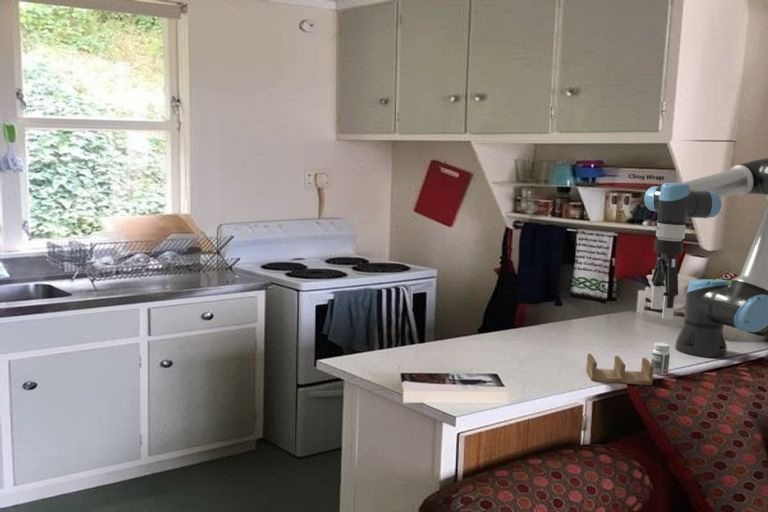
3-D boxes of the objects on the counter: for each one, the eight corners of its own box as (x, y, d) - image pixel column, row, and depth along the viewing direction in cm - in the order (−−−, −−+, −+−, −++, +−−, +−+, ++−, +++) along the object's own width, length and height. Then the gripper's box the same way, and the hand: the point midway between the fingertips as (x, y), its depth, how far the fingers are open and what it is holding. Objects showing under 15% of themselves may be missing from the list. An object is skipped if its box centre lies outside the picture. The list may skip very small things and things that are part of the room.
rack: (644, 375, 226) (646, 358, 225) (652, 385, 217) (654, 367, 216) (586, 371, 227) (587, 353, 226) (591, 380, 218) (593, 362, 217)
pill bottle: (664, 370, 232) (667, 342, 230) (670, 375, 227) (673, 346, 226) (647, 370, 232) (650, 341, 230) (653, 375, 227) (656, 346, 226)
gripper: (645, 232, 237) (638, 303, 240) (666, 243, 212) (658, 322, 215) (672, 234, 236) (664, 305, 239) (695, 245, 212) (687, 324, 215)
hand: (661, 314), depth 227 cm, fingers open, 13 cm apart
